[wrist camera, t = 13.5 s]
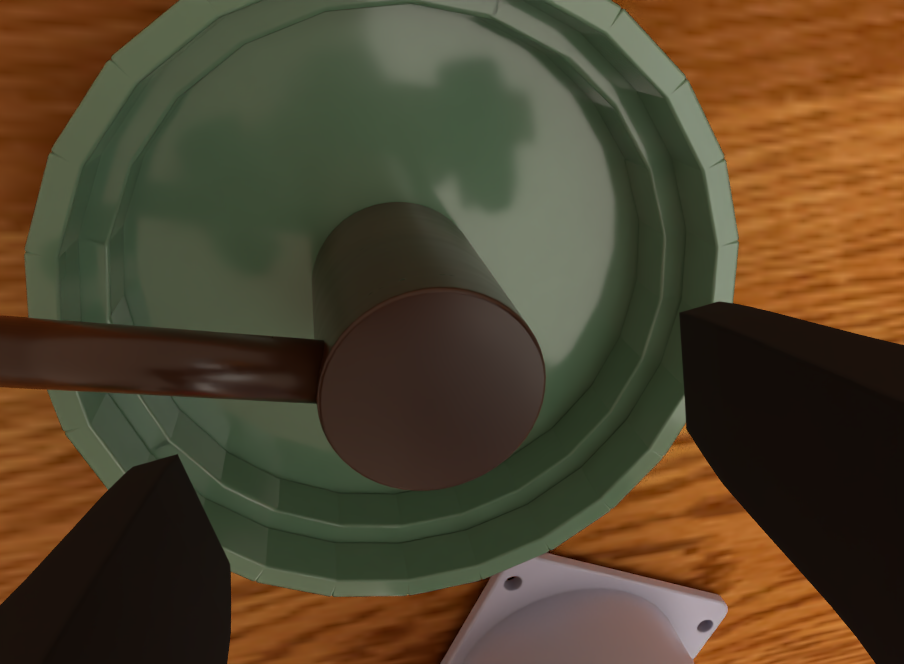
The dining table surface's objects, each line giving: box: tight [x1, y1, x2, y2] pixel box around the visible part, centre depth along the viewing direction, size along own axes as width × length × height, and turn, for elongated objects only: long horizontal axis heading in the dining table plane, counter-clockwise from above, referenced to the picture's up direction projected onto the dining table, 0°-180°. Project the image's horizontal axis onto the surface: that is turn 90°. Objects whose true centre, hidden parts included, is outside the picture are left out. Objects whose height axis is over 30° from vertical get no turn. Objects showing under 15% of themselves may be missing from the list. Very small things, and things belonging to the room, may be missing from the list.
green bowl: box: [24, 0, 739, 597], centre depth 14 cm, size 13×13×3 cm
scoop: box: [0, 202, 546, 491], centre depth 12 cm, size 4×9×5 cm, turn 80°
